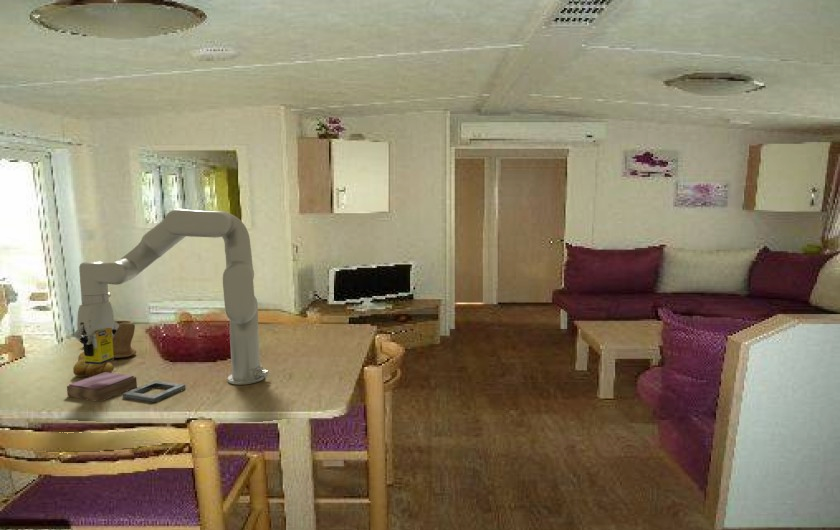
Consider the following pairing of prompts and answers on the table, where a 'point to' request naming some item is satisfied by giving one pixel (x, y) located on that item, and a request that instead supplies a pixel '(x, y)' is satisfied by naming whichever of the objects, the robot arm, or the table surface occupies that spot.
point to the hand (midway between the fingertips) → (98, 352)
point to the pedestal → (101, 386)
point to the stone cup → (123, 339)
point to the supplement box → (101, 347)
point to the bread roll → (90, 367)
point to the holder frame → (171, 387)
